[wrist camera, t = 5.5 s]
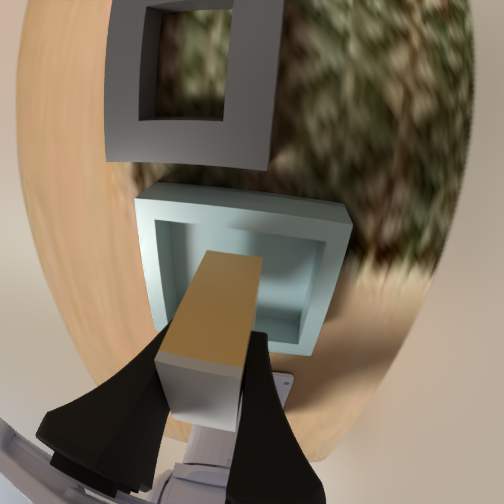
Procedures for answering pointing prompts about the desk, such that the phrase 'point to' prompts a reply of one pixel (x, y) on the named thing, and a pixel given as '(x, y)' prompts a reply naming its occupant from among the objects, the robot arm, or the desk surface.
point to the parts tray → (246, 252)
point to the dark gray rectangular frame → (192, 128)
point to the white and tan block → (211, 341)
